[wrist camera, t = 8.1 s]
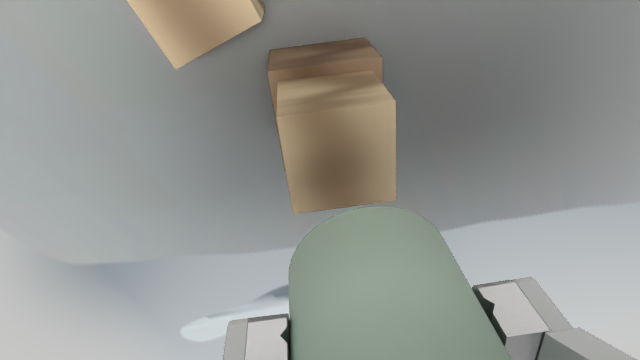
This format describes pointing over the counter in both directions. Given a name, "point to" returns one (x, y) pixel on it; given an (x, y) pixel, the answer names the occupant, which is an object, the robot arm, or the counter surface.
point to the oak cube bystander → (195, 24)
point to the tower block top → (337, 140)
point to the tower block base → (321, 63)
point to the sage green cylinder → (384, 293)
